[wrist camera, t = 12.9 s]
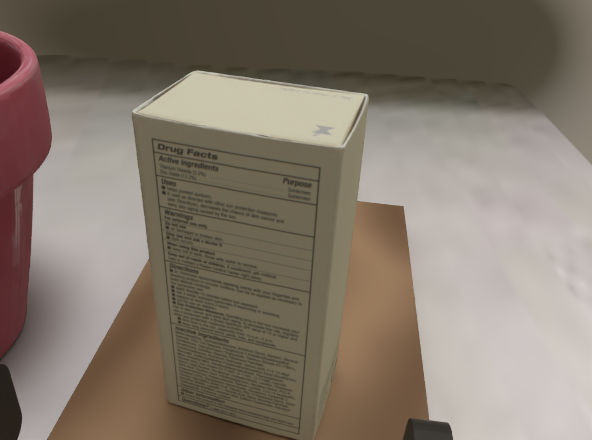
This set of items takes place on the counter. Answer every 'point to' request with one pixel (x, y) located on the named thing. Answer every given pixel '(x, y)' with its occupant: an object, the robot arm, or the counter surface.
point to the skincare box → (250, 242)
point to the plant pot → (18, 175)
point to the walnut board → (347, 378)
